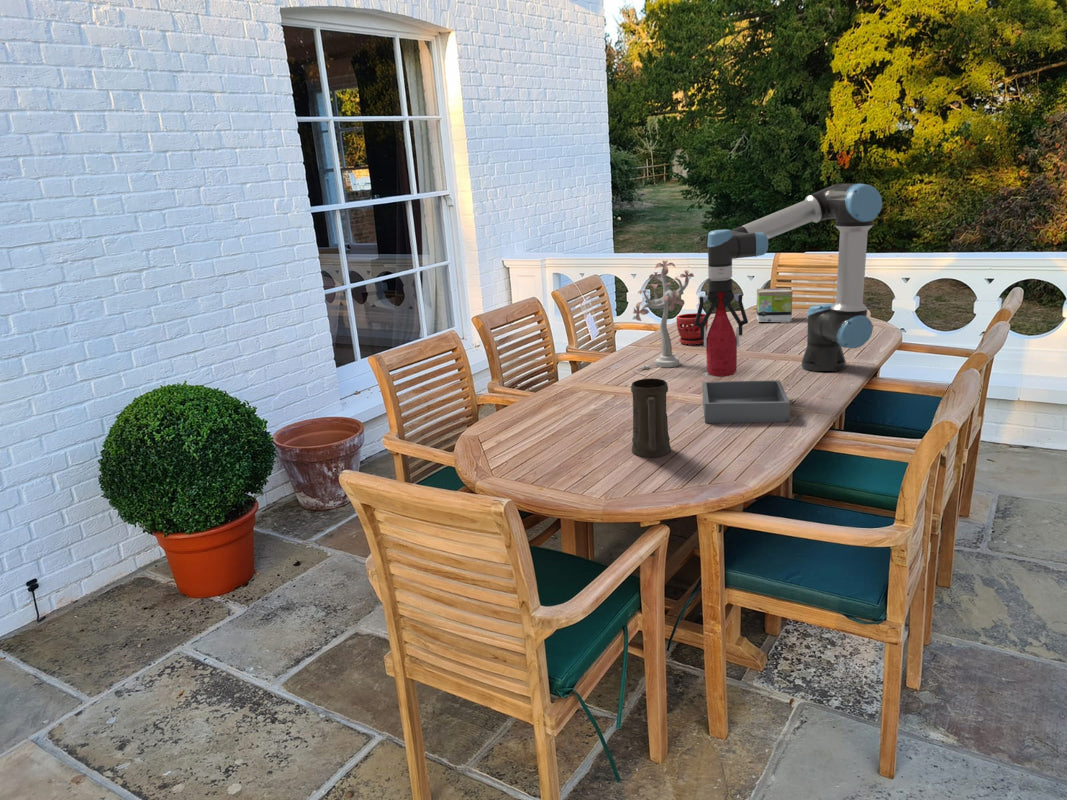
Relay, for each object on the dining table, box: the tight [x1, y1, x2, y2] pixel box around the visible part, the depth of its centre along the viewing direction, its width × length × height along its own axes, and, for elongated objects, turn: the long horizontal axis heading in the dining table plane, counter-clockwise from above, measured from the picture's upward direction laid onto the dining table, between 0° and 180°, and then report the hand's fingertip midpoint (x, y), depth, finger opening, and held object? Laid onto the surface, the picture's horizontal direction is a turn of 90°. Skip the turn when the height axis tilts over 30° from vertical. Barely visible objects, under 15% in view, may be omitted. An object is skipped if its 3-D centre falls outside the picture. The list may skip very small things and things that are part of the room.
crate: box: [702, 379, 791, 424], centre depth 250 cm, size 24×24×6 cm
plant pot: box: [676, 312, 709, 346], centre depth 342 cm, size 13×13×12 cm
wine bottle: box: [705, 292, 738, 378], centre depth 265 cm, size 10×10×30 cm
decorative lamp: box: [632, 259, 695, 377], centre depth 304 cm, size 28×24×40 cm
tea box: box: [755, 287, 793, 323], centre depth 372 cm, size 15×10×15 cm
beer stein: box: [630, 378, 672, 458], centre depth 217 cm, size 15×11×20 cm
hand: (721, 345), depth 266 cm, fingers closed on wine bottle, 10 cm apart
